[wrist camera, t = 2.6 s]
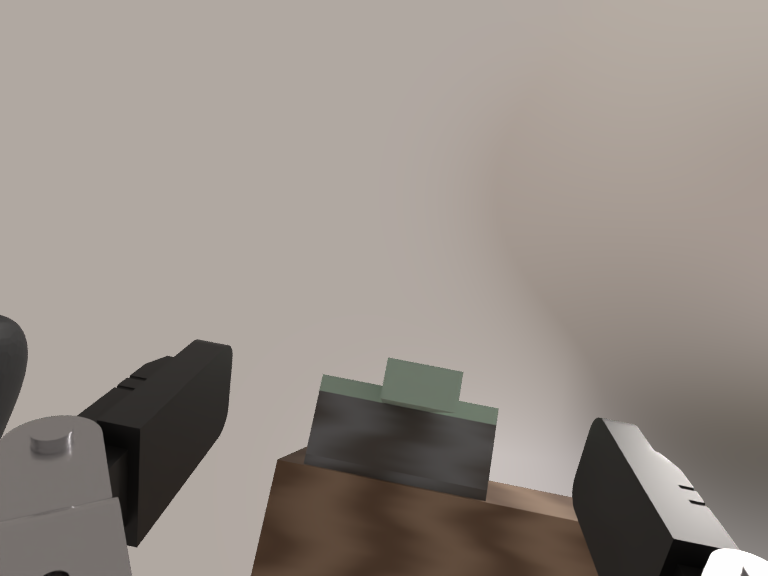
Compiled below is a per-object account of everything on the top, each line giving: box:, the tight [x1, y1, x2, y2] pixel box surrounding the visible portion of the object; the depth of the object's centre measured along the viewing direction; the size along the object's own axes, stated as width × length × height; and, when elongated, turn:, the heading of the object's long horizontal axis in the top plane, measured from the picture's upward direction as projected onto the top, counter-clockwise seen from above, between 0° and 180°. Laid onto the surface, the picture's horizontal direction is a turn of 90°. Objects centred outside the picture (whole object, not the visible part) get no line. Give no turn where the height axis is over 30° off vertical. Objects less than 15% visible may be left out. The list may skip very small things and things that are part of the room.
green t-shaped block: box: [320, 358, 498, 425], centre depth 31 cm, size 11×23×3 cm, turn 0°
